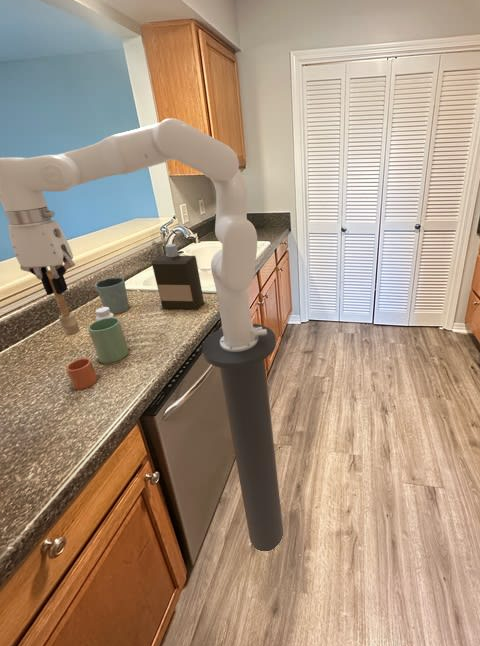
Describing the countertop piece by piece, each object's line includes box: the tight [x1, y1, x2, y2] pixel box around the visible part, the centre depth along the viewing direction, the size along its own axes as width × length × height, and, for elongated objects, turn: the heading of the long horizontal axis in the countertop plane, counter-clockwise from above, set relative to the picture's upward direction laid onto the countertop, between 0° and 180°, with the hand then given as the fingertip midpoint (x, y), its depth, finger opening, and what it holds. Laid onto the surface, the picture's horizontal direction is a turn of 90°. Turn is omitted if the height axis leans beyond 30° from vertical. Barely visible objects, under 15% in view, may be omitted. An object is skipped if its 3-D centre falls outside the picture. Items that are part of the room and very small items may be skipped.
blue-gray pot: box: [94, 276, 130, 315], centre depth 127 cm, size 10×10×12 cm
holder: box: [65, 357, 98, 390], centre depth 87 cm, size 6×6×6 cm
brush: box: [46, 269, 81, 336], centre depth 80 cm, size 3×3×17 cm
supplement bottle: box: [95, 306, 115, 321], centre depth 109 cm, size 5×5×10 cm
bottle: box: [150, 243, 205, 310], centre depth 125 cm, size 8×16×25 cm, turn 82°
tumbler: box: [87, 316, 130, 364], centre depth 97 cm, size 8×8×11 cm
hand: (57, 291), depth 79 cm, fingers closed on brush
